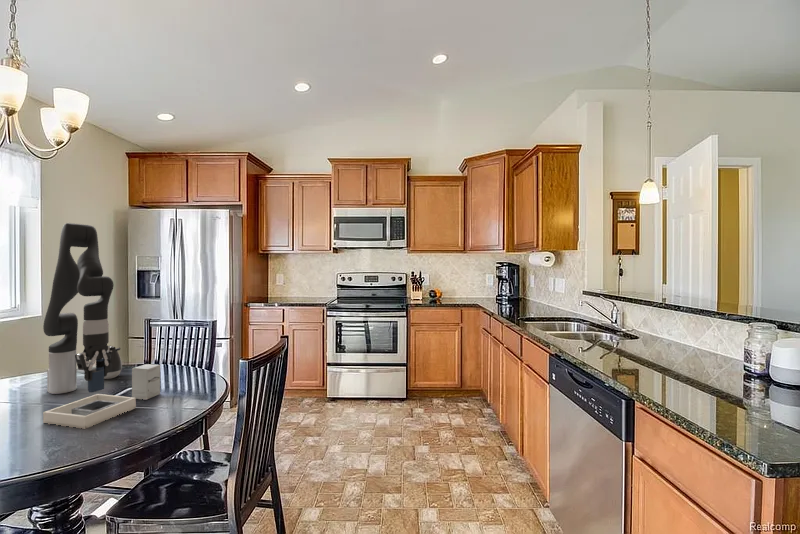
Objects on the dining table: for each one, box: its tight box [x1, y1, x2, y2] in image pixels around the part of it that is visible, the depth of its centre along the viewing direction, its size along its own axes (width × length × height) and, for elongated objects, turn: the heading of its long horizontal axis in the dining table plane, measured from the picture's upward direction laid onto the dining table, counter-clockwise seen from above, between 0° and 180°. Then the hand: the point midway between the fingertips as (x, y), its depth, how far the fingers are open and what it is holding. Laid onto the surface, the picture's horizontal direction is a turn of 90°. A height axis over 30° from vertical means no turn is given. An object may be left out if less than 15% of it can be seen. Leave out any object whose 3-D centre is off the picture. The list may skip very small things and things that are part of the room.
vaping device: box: [87, 359, 105, 393], centre depth 150 cm, size 3×5×12 cm, turn 161°
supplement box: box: [131, 363, 161, 401], centre depth 171 cm, size 7×7×13 cm
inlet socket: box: [72, 400, 120, 416], centre depth 150 cm, size 10×10×3 cm
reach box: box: [42, 393, 137, 430], centre depth 150 cm, size 18×20×4 cm
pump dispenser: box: [104, 345, 123, 380], centre depth 198 cm, size 10×10×15 cm
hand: (96, 378), depth 150 cm, fingers closed on vaping device, 5 cm apart
